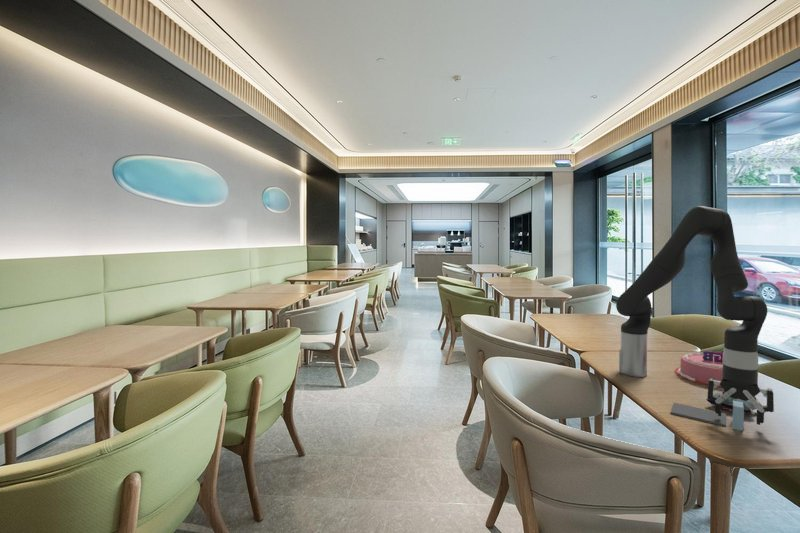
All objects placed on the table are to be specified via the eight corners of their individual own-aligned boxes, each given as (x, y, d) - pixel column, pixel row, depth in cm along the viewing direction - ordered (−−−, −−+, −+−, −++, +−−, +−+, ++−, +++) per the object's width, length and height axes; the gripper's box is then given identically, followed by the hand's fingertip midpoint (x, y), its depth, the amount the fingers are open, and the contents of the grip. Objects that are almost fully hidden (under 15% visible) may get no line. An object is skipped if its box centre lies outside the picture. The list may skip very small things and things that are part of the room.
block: (732, 428, 104) (733, 408, 104) (732, 419, 110) (732, 400, 109) (743, 431, 103) (743, 410, 103) (742, 422, 108) (742, 402, 108)
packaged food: (715, 399, 124) (715, 385, 123) (763, 413, 114) (763, 397, 113) (705, 406, 119) (705, 391, 119) (753, 420, 109) (754, 404, 109)
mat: (670, 413, 114) (670, 411, 114) (673, 404, 121) (673, 402, 121) (726, 426, 105) (726, 424, 105) (726, 415, 112) (726, 413, 112)
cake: (748, 374, 148) (748, 348, 147) (767, 395, 127) (768, 365, 126) (671, 364, 161) (672, 340, 161) (677, 382, 140) (678, 355, 140)
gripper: (707, 362, 107) (706, 416, 108) (776, 373, 98) (774, 432, 98) (708, 356, 113) (707, 408, 114) (773, 366, 103) (772, 422, 104)
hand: (738, 419), depth 106 cm, fingers open, 8 cm apart
